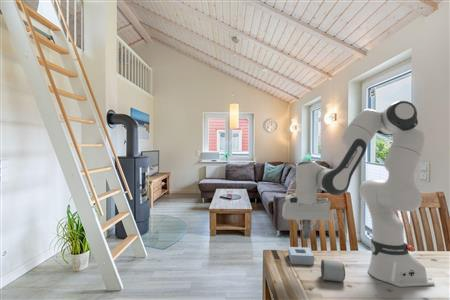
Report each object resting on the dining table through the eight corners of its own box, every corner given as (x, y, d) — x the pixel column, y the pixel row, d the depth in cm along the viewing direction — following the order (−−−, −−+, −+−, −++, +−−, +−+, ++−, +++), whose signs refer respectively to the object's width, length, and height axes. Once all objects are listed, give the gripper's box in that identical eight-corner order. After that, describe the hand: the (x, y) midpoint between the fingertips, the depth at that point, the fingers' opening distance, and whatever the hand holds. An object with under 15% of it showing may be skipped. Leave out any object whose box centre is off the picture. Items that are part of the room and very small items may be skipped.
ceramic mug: (346, 285, 100) (346, 265, 101) (323, 283, 102) (323, 263, 102) (339, 272, 111) (338, 254, 111) (318, 271, 112) (318, 253, 112)
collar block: (309, 255, 128) (309, 247, 128) (313, 264, 118) (313, 255, 118) (288, 254, 129) (288, 246, 129) (291, 263, 119) (291, 255, 119)
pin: (308, 236, 115) (308, 218, 115) (310, 238, 112) (310, 219, 112) (301, 235, 116) (301, 217, 116) (303, 238, 113) (303, 219, 113)
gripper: (328, 196, 116) (328, 228, 116) (281, 196, 118) (281, 226, 118) (332, 199, 110) (332, 232, 110) (283, 198, 112) (283, 231, 112)
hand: (306, 229), depth 114 cm, fingers closed on pin, 3 cm apart
